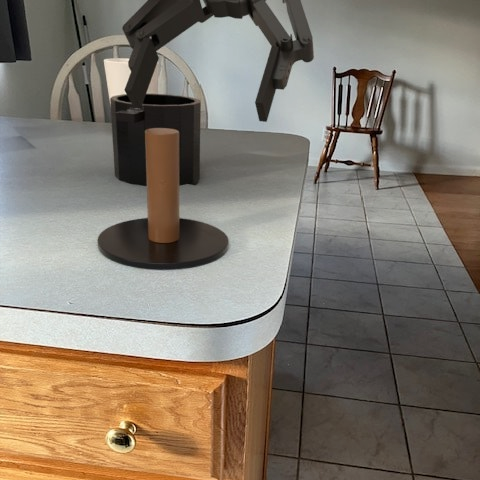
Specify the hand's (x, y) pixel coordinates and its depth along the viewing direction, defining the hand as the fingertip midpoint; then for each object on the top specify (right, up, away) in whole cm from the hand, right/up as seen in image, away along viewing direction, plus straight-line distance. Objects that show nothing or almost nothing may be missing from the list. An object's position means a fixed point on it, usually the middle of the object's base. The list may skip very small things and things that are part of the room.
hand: (194, 106), depth 53 cm
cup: (-16, +15, +51) cm, 55 cm away
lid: (-3, -14, 0) cm, 14 cm away
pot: (-7, -1, +23) cm, 24 cm away
